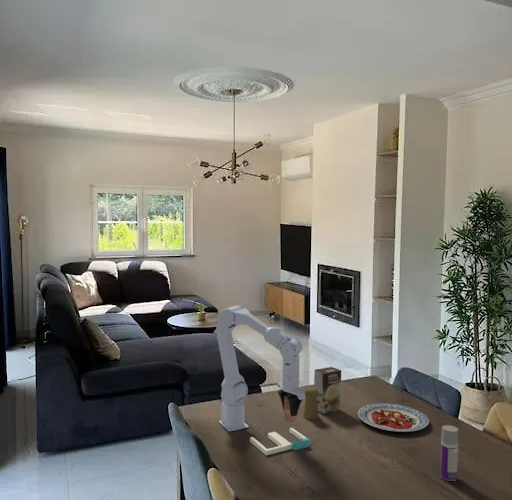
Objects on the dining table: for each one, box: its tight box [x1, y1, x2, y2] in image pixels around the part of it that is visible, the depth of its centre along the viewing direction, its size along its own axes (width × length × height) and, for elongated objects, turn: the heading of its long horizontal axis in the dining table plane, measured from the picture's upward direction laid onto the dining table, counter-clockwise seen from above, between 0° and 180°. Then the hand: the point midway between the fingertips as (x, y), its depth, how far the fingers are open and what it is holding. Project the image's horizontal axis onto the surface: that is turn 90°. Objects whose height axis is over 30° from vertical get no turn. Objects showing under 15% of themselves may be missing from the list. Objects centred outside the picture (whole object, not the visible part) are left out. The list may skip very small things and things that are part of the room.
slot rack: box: [249, 427, 311, 456], centre depth 164 cm, size 12×17×2 cm
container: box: [439, 424, 459, 481], centre depth 143 cm, size 5×5×15 cm
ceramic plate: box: [357, 403, 430, 433], centre depth 184 cm, size 26×26×3 cm
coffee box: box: [313, 366, 342, 414], centre depth 195 cm, size 9×6×16 cm
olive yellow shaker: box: [302, 387, 320, 421], centre depth 187 cm, size 6×6×11 cm
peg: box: [283, 395, 297, 423], centre depth 167 cm, size 4×4×8 cm
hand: (290, 413), depth 167 cm, fingers closed on peg, 4 cm apart
